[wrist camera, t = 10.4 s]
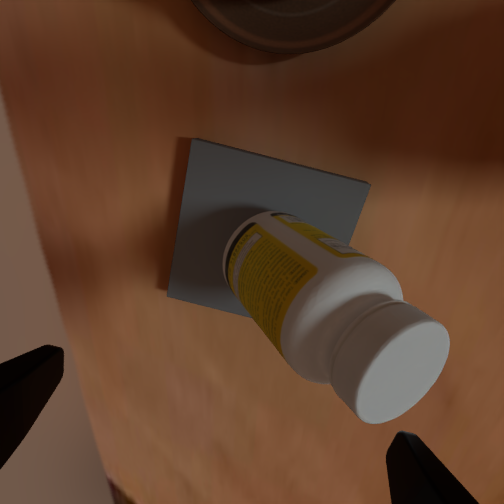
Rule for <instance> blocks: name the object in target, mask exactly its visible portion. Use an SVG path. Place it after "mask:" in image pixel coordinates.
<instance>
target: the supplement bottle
mask: <svg viewBox="0 0 504 504" xmlns="http://www.w3.org/2000/svg"><path fill="white" fill-rule="evenodd" d="M223 273H224V277H225V280H226V282H227V284H228V286H229V287H230V289H231V290H232V292H233V294H234V295H235V296H236V297H237V299H238V300H239V301H240V303H241V304H242V305H243V306H244V308H245V309H246V310H247V312H248V313H249V314H250V315H251V317H252V318H253V319H254V321H255V322H256V323H257V324H258V326H259V327H260V328H261V329H262V331H263V332H264V333H265V335H266V336H267V337H268V338H269V340H270V341H271V342H272V344H273V345H274V346H275V347H276V349H277V350H278V351H279V353H280V354H281V355H282V357H283V358H284V359H285V360H286V362H287V363H288V364H289V365H290V366H291V367H292V369H293V370H294V371H295V372H296V373H297V374H299V375H300V376H301V377H303V378H305V379H306V380H309V381H311V382H315V383H319V384H331V385H332V387H333V388H334V390H335V392H336V394H337V395H338V396H339V397H340V398H341V399H342V400H343V401H344V402H345V403H346V404H347V406H348V407H349V408H350V409H351V410H352V411H353V412H354V413H355V414H356V416H357V417H358V418H359V419H361V420H362V421H364V422H366V423H370V424H379V423H383V422H387V421H390V420H392V419H394V418H396V417H398V416H400V415H401V414H403V413H404V412H406V411H407V410H409V409H410V408H411V407H412V406H414V405H415V404H416V403H417V402H418V401H419V400H420V399H421V398H422V397H423V396H424V395H425V394H426V393H427V391H428V390H429V389H430V388H431V386H432V385H433V384H434V383H435V381H436V379H437V378H438V376H439V375H440V373H441V371H442V369H443V367H444V365H445V362H446V359H447V356H448V353H449V346H450V340H449V335H448V332H447V330H446V329H445V327H444V326H443V325H442V324H441V323H439V322H438V321H436V320H435V319H433V318H432V317H430V316H429V315H427V314H426V313H424V312H423V311H421V310H419V309H418V308H417V307H414V306H412V305H411V304H409V303H408V302H406V301H403V296H402V290H401V287H400V284H399V282H398V280H397V279H396V277H395V276H394V275H393V273H392V272H391V271H390V270H388V269H387V268H386V267H385V266H383V265H382V264H380V263H379V262H377V261H375V260H373V259H372V258H370V257H368V256H366V255H364V254H362V253H361V252H359V251H357V250H355V249H353V248H352V247H350V246H348V245H346V244H345V243H343V242H341V241H339V240H337V239H336V238H334V237H332V236H330V235H328V234H326V233H325V232H323V231H321V230H319V229H317V228H316V227H314V226H312V225H310V224H308V223H307V222H305V221H303V220H301V219H299V218H297V217H296V216H293V215H291V214H289V213H286V212H281V211H268V212H263V213H260V214H257V215H255V216H253V217H251V218H249V219H248V220H246V221H245V222H244V223H243V224H241V225H240V226H239V227H238V228H237V229H236V231H235V232H234V233H233V234H232V236H231V238H230V239H229V241H228V243H227V245H226V248H225V251H224V255H223Z"/></svg>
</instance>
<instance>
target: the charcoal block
mask: <svg viewBox="0 0 504 504" xmlns="http://www.w3.org/2000/svg"><path fill="white" fill-rule="evenodd" d="M370 187H371V184H369V183H368V182H366V181H362V180H358V179H354V178H350V177H347V176H343V175H339V174H335V173H331V172H327V171H323V170H319V169H316V168H312V167H308V166H304V165H300V164H296V163H292V162H288V161H285V160H281V159H277V158H273V157H269V156H265V155H261V154H257V153H254V152H250V151H246V150H242V149H238V148H234V147H230V146H226V145H222V144H219V143H215V142H211V141H207V140H203V139H199V138H194V139H192V142H191V148H190V155H189V161H188V167H187V173H186V179H185V186H184V192H183V198H182V204H181V210H180V217H179V223H178V229H177V235H176V241H175V248H174V254H173V260H172V266H171V272H170V279H169V285H168V291H167V297H171V298H175V299H179V300H182V301H186V302H190V303H194V304H198V305H202V306H206V307H210V308H214V309H218V310H222V311H226V312H230V313H234V314H238V315H242V316H246V317H250V318H252V317H251V315H250V314H249V313H248V312H247V310H246V309H245V308H244V306H243V305H242V304H241V303H240V301H239V300H238V299H237V297H236V296H235V295H234V294H233V292H232V290H231V289H230V287H229V286H228V284H227V282H226V280H225V277H224V273H223V255H224V251H225V248H226V245H227V243H228V241H229V239H230V238H231V236H232V234H233V233H234V232H235V231H236V229H237V228H238V227H239V226H240V225H241V224H243V223H244V222H245V221H246V220H248V219H249V218H251V217H253V216H255V215H257V214H260V213H263V212H268V211H281V212H286V213H289V214H291V215H293V216H296V217H297V218H299V219H301V220H303V221H305V222H307V223H308V224H310V225H312V226H314V227H316V228H317V229H319V230H321V231H323V232H325V233H326V234H328V235H330V236H332V237H334V238H336V239H337V240H339V241H341V242H343V243H345V244H346V245H349V243H350V240H351V237H352V235H353V232H354V229H355V227H356V224H357V221H358V219H359V216H360V213H361V211H362V208H363V205H364V203H365V200H366V197H367V195H368V192H369V189H370Z"/></svg>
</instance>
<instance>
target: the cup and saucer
mask: <svg viewBox="0 0 504 504" xmlns="http://www.w3.org/2000/svg"><path fill="white" fill-rule="evenodd" d="M191 1H192V2H193V4H194V5H195V6H196V7H197V9H198V10H199V11H200V12H201V13H202V14H203V15H204V16H205V17H206V18H207V19H208V20H209V21H210V22H211V23H212V24H213V25H215V26H216V27H217V28H218V29H219V30H221V31H222V32H224V33H225V34H226V35H228V36H229V37H231V38H233V39H235V40H236V41H238V42H240V43H242V44H245V45H247V46H249V47H252V48H255V49H258V50H262V51H266V52H272V53H278V54H300V53H307V52H313V51H318V50H321V49H324V48H328V47H330V46H333V45H335V44H338V43H340V42H342V41H344V40H346V39H348V38H350V37H352V36H354V35H355V34H357V33H358V32H360V31H361V30H363V29H365V28H366V27H367V26H369V25H370V24H371V23H372V22H374V21H375V20H376V19H377V18H378V17H380V16H381V15H382V14H383V13H384V12H385V11H386V10H387V9H388V8H389V7H390V6H391V5H392V4H393V3H394V2H395V0H191Z"/></svg>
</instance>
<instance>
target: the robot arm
mask: <svg viewBox="0 0 504 504" xmlns="http://www.w3.org/2000/svg"><path fill="white" fill-rule="evenodd" d="M63 372H64V351H63V349H62V348H61V347H57V346H53V345H44V346H41V347H39V348H37V349H34V350H32V351H30V352H27V353H25V354H22V355H20V356H18V357H15V358H13V359H11V360H8V361H6V362H3V363H1V364H0V469H1V468H2V467H3V465H4V464H5V463H6V461H7V460H8V459H9V458H10V456H11V455H12V454H13V452H14V451H15V450H16V448H17V447H18V446H19V444H20V443H21V441H22V440H23V439H24V438H25V436H26V435H27V433H28V432H29V430H30V428H31V427H32V425H33V424H34V422H35V421H36V419H37V418H38V416H39V414H40V413H41V411H42V409H43V408H44V406H45V405H46V403H47V402H48V400H49V398H50V397H51V395H52V394H53V392H54V391H55V389H56V387H57V386H58V384H59V383H60V381H61V378H62V376H63ZM386 465H387V472H388V480H389V487H390V495H391V503H392V504H479V503H478V502H477V501H476V500H475V498H474V497H473V496H472V495H471V494H470V493H469V492H468V491H467V490H466V489H465V487H464V486H463V485H462V484H461V483H460V482H459V481H458V480H457V479H456V478H455V476H454V475H453V474H452V473H451V472H450V471H449V470H448V469H447V468H446V467H445V465H444V464H443V463H442V462H441V461H440V460H439V459H438V458H437V457H436V456H435V454H434V453H433V452H432V451H431V450H430V449H429V448H428V447H427V446H426V445H425V443H424V442H423V441H422V440H421V439H420V438H419V437H418V436H417V435H416V434H413V433H409V432H405V431H399V432H398V433H397V434H396V436H395V438H394V439H393V441H392V443H391V445H390V447H389V448H388V450H387V454H386Z"/></svg>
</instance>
